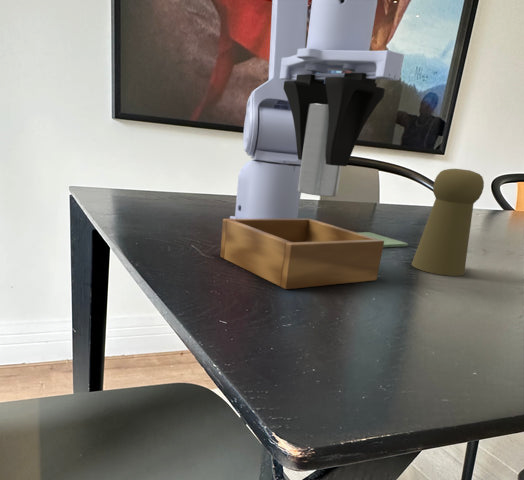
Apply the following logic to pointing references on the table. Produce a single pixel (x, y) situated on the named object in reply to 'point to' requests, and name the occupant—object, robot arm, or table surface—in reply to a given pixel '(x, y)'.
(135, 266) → the table surface
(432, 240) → the cork
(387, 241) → the felt mat
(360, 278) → the wooden box
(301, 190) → the metal tube
